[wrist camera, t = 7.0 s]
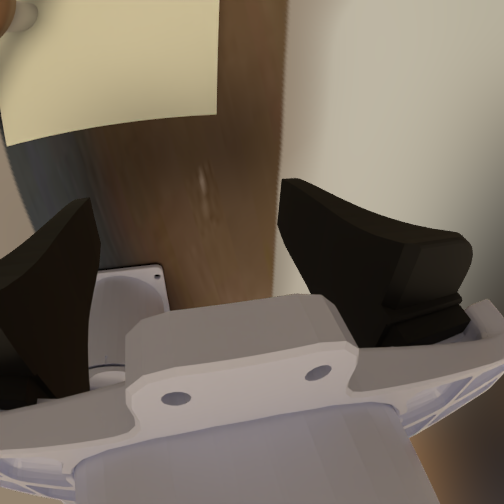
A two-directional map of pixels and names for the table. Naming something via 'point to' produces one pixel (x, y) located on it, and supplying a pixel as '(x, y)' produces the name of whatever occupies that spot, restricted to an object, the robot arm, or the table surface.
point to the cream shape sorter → (106, 64)
